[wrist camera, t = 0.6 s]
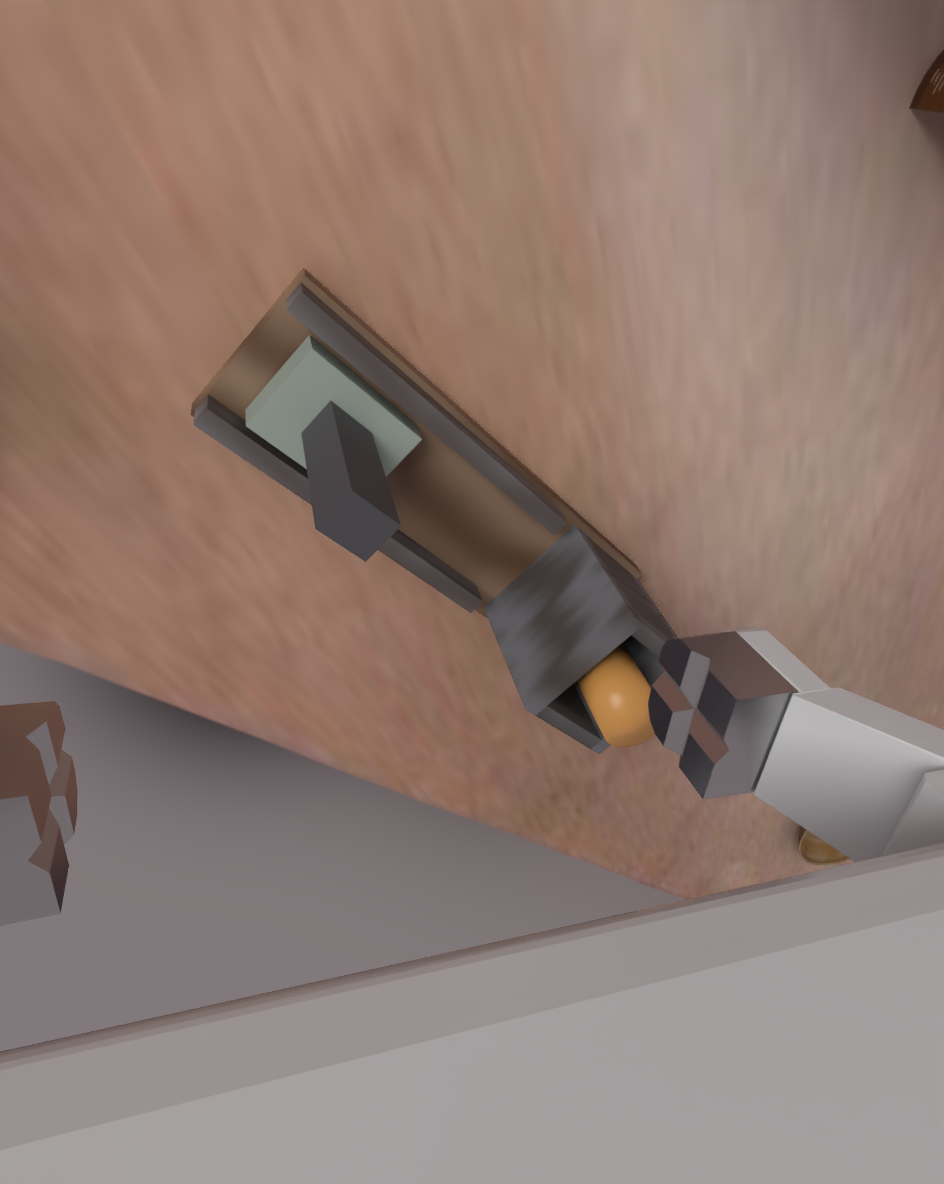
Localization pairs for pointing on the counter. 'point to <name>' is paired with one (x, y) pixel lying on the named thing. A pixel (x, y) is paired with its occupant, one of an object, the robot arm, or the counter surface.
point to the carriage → (337, 443)
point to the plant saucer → (818, 850)
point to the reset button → (618, 698)
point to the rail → (461, 514)
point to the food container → (931, 88)
